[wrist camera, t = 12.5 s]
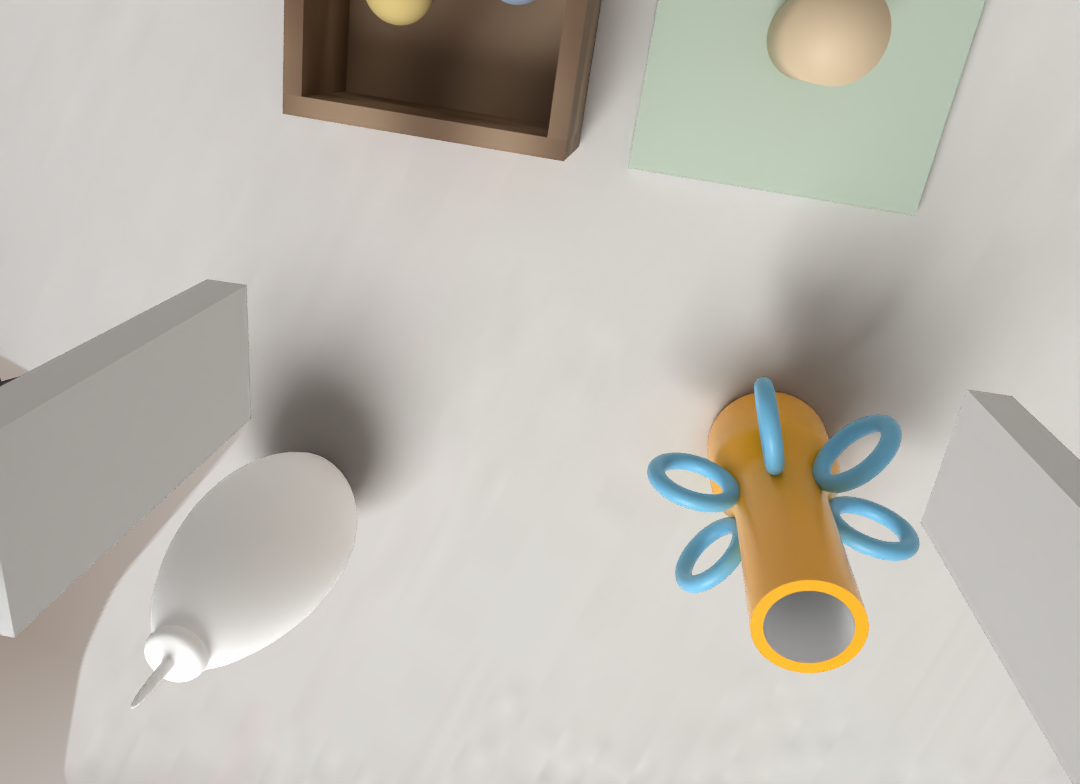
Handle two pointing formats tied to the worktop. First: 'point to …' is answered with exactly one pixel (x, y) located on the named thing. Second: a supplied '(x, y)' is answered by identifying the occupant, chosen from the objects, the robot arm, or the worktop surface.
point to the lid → (803, 95)
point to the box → (446, 70)
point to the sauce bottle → (248, 564)
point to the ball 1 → (400, 10)
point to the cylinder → (788, 523)
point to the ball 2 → (517, 2)
